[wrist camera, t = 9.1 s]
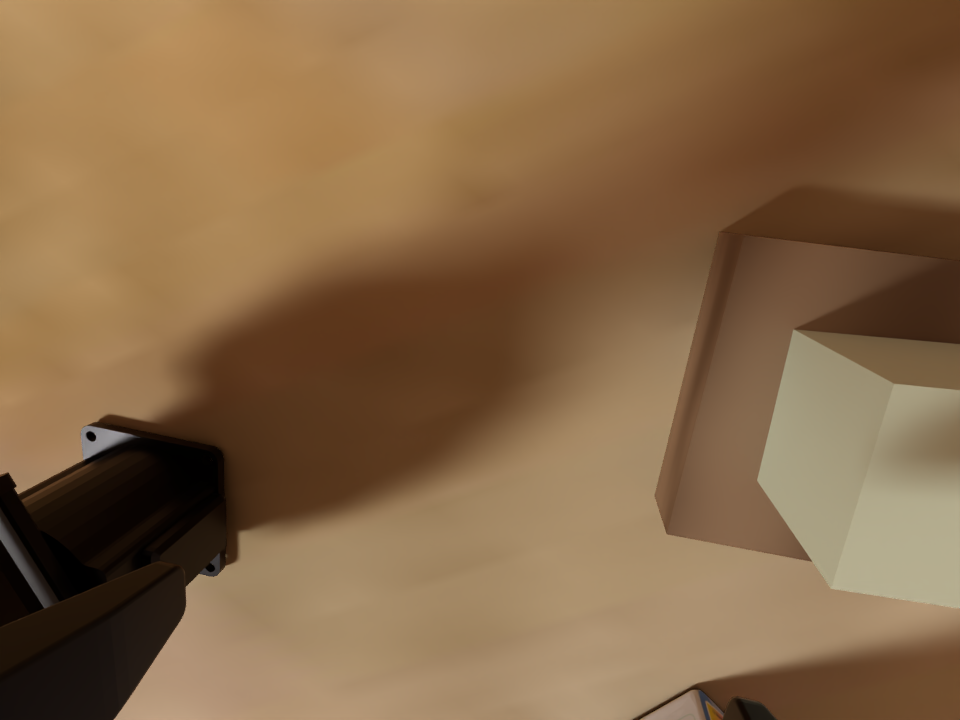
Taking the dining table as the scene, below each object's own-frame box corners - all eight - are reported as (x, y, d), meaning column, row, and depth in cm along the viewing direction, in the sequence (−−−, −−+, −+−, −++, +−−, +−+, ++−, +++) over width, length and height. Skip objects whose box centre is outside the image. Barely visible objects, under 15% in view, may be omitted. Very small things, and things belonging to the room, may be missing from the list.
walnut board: (652, 489, 20) (666, 534, 18) (715, 231, 18) (744, 235, 15) (925, 537, 19) (987, 594, 16) (1041, 270, 16) (1141, 283, 14)
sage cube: (757, 480, 17) (830, 588, 12) (793, 329, 15) (894, 383, 10) (929, 502, 16) (1081, 627, 11) (985, 346, 14) (1185, 413, 10)
